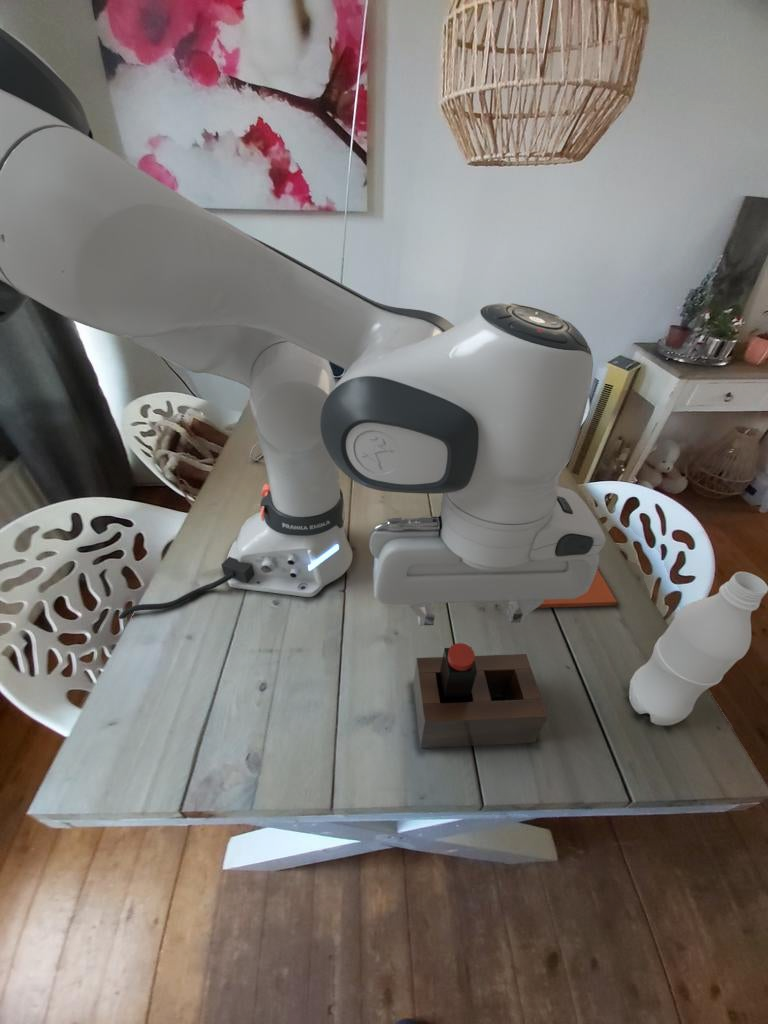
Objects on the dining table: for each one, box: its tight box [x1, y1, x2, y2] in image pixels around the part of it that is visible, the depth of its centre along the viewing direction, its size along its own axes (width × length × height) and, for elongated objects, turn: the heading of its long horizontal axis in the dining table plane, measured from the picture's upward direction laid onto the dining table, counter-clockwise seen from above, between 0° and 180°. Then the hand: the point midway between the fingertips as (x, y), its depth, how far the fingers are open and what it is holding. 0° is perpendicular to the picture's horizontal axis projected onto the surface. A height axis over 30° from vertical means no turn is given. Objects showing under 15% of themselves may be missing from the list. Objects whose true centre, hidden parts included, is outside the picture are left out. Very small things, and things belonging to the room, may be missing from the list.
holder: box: [412, 653, 549, 749], centre depth 57 cm, size 8×15×7 cm, turn 93°
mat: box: [536, 568, 618, 609], centre depth 78 cm, size 14×14×1 cm
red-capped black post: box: [438, 642, 477, 703], centre depth 54 cm, size 3×3×14 cm
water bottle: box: [628, 571, 768, 726], centre depth 52 cm, size 7×7×25 cm
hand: (470, 618), depth 46 cm, fingers open, 8 cm apart
